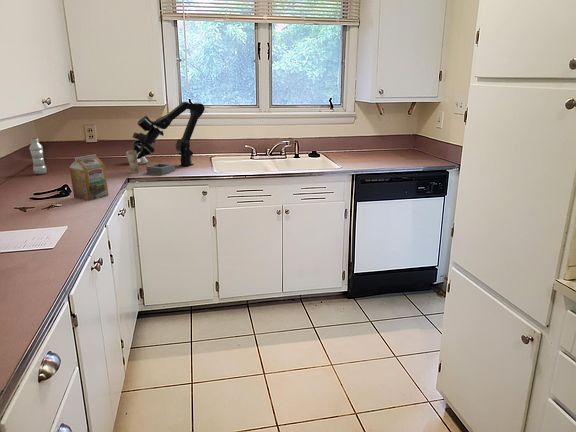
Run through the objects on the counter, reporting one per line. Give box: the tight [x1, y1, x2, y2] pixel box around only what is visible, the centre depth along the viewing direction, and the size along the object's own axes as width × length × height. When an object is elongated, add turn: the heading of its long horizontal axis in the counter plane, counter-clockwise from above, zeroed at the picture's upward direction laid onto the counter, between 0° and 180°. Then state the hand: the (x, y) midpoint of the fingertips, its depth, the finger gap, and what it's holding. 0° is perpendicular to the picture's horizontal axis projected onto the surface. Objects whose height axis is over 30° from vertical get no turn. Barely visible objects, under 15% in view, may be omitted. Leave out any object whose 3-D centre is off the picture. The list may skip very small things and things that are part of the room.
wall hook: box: [125, 150, 149, 165], centre depth 280 cm, size 8×10×10 cm
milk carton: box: [69, 153, 109, 202], centre depth 204 cm, size 11×11×19 cm
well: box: [146, 162, 176, 176], centre depth 256 cm, size 11×11×4 cm
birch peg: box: [128, 149, 139, 174], centre depth 255 cm, size 4×4×12 cm
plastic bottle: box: [29, 137, 48, 175], centre depth 249 cm, size 6×7×20 cm
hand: (134, 157), depth 255 cm, fingers open, 9 cm apart
